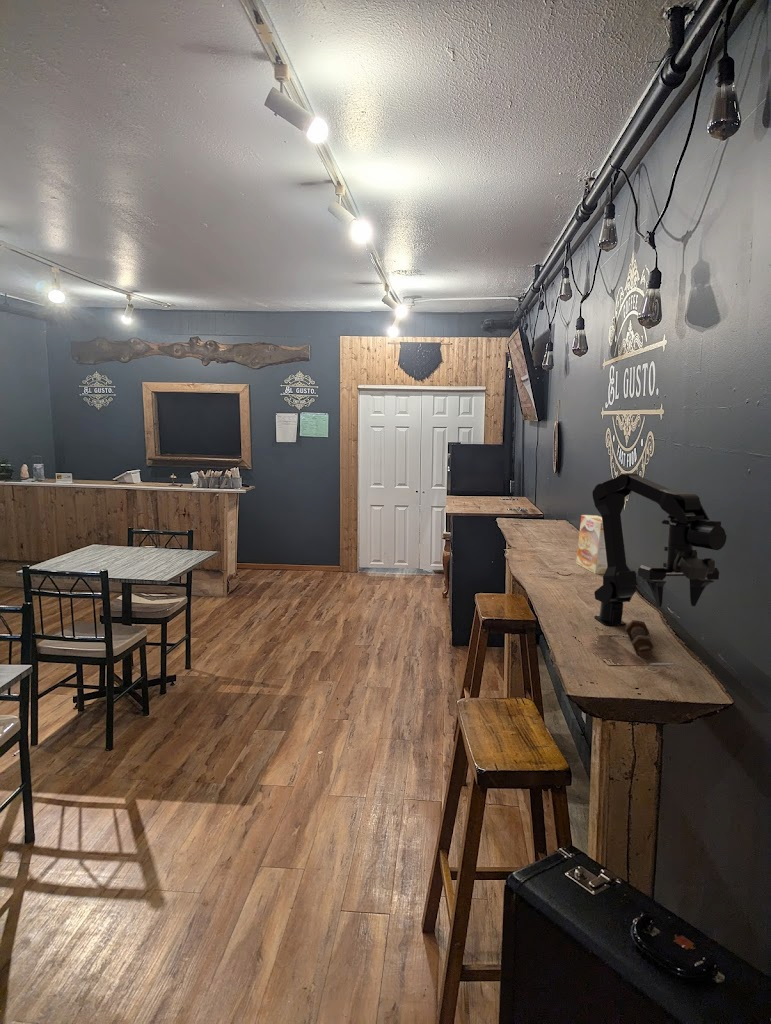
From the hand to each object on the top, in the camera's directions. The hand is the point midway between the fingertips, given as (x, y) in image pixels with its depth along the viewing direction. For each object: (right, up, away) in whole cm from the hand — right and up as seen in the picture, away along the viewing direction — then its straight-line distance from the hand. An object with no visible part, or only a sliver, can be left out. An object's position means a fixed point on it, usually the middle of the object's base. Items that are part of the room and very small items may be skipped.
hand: (676, 606), depth 155 cm
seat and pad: (-14, -11, 0) cm, 18 cm away
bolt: (-9, -11, +1) cm, 14 cm away
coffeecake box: (+6, +2, +81) cm, 82 cm away
